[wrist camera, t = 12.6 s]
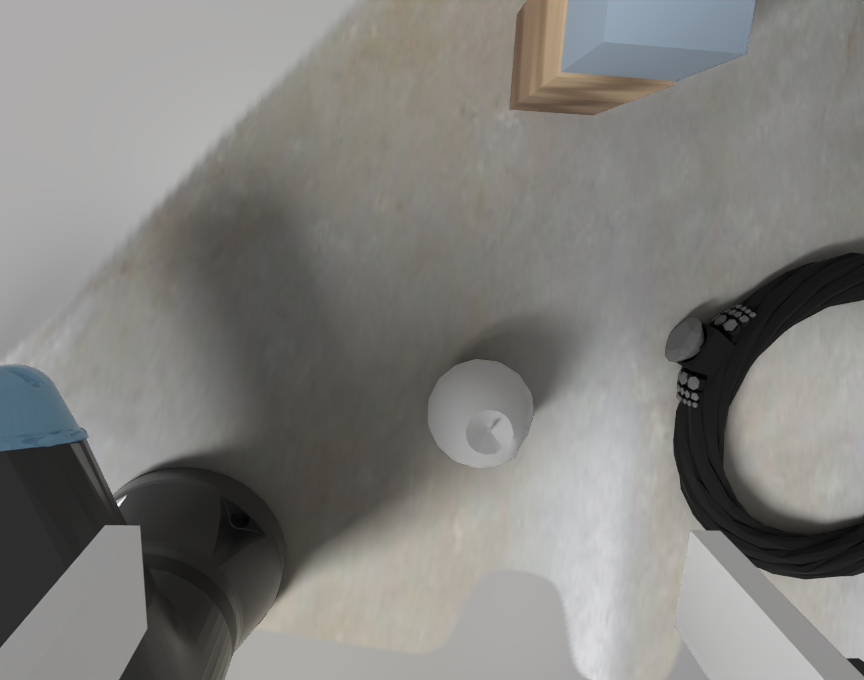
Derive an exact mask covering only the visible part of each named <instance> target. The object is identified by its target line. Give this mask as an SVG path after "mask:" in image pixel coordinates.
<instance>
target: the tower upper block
mask: <svg viewBox="0 0 864 680" xmlns="http://www.w3.org/2000/svg"><path fill="white" fill-rule="evenodd" d="M567 4H568V0H538V3H537V14H536V26H535V37H534V48H533V59H532V70H531V81H530V92H529V96H540V97H553V98H567V99H580V100H594V101H608V102H621V103H628V102H630V101H633V100H636V99H638V98H641V97H643V96H646V95H649V94H651V93H654V92H657V91H659V90H662V89H664V88H667V87H670V86H672V85H673V83H674V81H668V80H655V79H642V78H630V77H617V76H604V75H591V74H578V73H565V72H561V63H562V53H563V43H564V34H565V24H566V14H567Z"/></svg>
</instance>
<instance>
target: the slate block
mask: <svg viewBox="0 0 864 680" xmlns="http://www.w3.org/2000/svg"><path fill="white" fill-rule="evenodd" d="M755 2H756V0H568V4H567V14H566V24H565V34H564V43H563V53H562V63H561V72H565V73H578V74H591V75H604V76H617V77H630V78H642V79H655V80H668V81H678V80H681V79H683V78H686V77H689V76H691V75H694V74H696V73H699V72H701V71H704V70H707V69H709V68H712V67H714V66H717V65H719V64H722V63H724V62H727V61H730V60H732V59H735V58H737V57H740V56H742V55H745V54H747V49H748V43H749V37H750V31H751V25H752V19H753V14H754V8H755Z"/></svg>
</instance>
